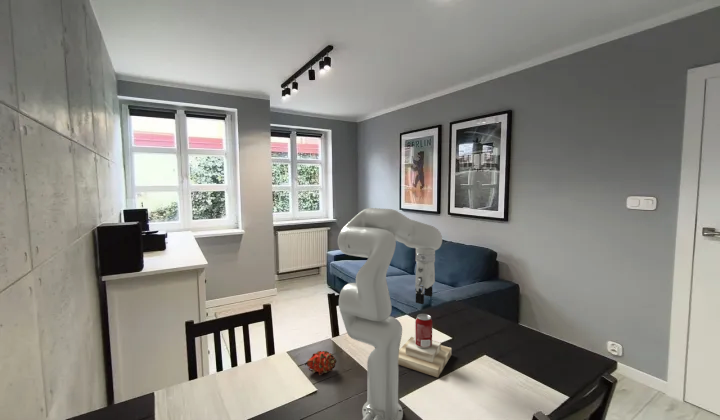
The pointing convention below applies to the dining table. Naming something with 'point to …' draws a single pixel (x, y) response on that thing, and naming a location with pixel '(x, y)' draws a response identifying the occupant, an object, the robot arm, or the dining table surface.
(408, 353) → the birch riser
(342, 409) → the dining table surface
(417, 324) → the soda can
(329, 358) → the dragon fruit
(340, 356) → the dining table surface
